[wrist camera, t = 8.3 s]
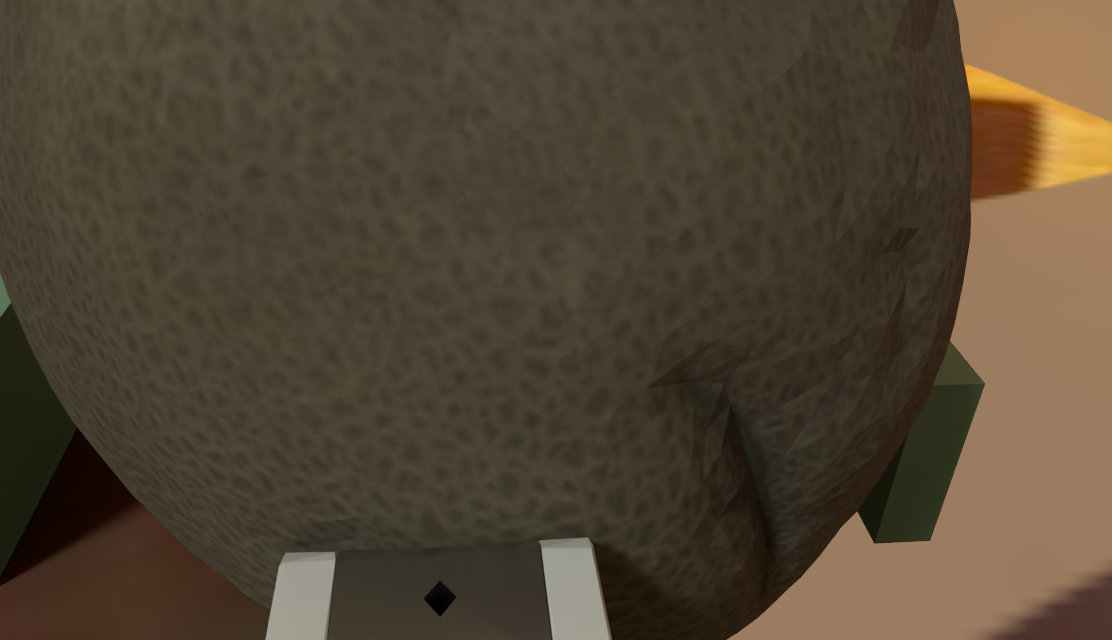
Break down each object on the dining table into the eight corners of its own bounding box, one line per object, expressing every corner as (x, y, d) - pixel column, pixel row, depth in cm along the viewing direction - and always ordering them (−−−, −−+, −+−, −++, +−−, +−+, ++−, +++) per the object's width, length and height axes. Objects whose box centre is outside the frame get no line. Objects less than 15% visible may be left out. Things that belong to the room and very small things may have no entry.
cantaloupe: (807, 376, 24) (967, -330, 16) (899, 995, 12) (1669, -514, 4) (280, 317, 26) (189, -363, 18) (-95, 823, 14) (-905, -569, 6)
